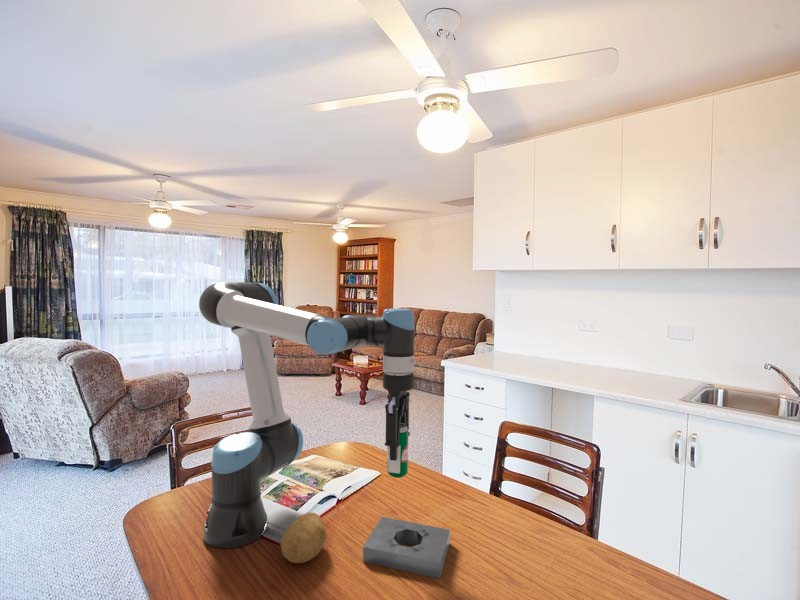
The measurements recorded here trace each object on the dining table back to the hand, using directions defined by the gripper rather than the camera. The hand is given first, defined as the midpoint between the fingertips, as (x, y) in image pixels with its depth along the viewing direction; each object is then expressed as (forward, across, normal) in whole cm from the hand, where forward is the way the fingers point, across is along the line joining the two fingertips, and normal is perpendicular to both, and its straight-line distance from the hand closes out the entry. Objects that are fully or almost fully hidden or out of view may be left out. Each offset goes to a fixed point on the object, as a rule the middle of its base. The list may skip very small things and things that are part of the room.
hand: (397, 466), depth 101 cm
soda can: (+2, 0, 0) cm, 2 cm away
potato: (+19, -10, +20) cm, 29 cm away
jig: (+20, -2, -3) cm, 20 cm away
